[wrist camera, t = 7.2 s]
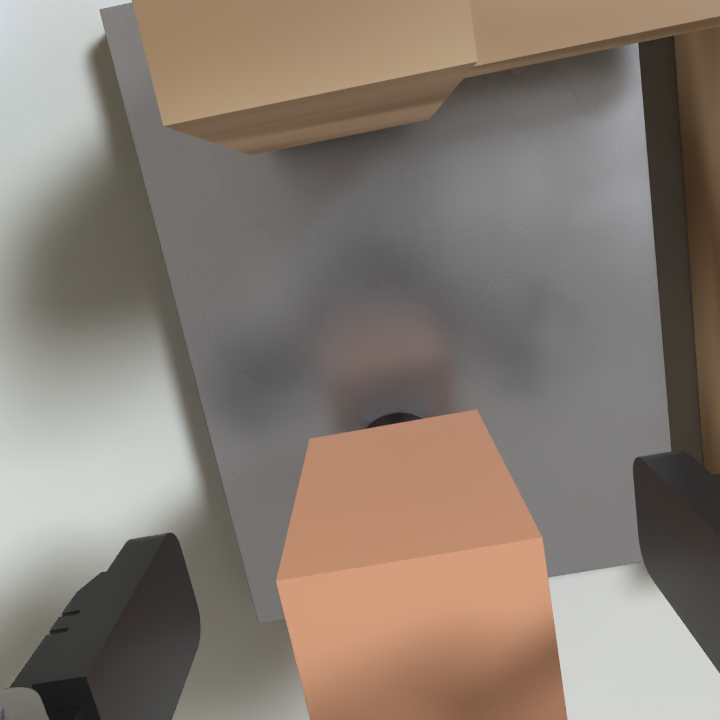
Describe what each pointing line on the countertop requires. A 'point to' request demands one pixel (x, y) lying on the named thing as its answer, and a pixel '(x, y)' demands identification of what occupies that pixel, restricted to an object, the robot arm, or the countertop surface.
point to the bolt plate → (424, 292)
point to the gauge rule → (431, 88)
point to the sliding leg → (418, 579)
